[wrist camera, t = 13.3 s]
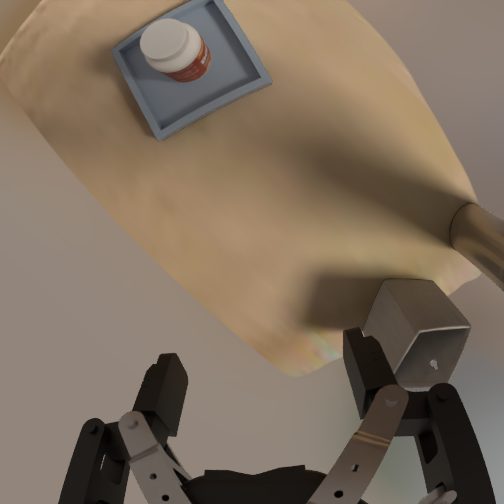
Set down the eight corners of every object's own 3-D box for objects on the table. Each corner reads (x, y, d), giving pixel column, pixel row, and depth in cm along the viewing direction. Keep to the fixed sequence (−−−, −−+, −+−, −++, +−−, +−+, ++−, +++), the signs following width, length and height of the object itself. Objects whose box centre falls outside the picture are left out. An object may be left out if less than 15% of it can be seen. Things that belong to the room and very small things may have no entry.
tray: (217, -3, 25) (215, -11, 23) (271, 84, 31) (272, 81, 29) (118, 53, 29) (110, 50, 26) (164, 140, 34) (157, 141, 32)
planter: (421, 251, 41) (488, 320, 23) (433, 282, 43) (490, 351, 26) (344, 306, 45) (379, 397, 28) (363, 332, 48) (397, 416, 30)
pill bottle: (219, 72, 30) (203, 49, 20) (174, 90, 31) (142, 77, 21) (203, 34, 28) (183, 2, 17) (160, 53, 28) (126, 30, 18)
